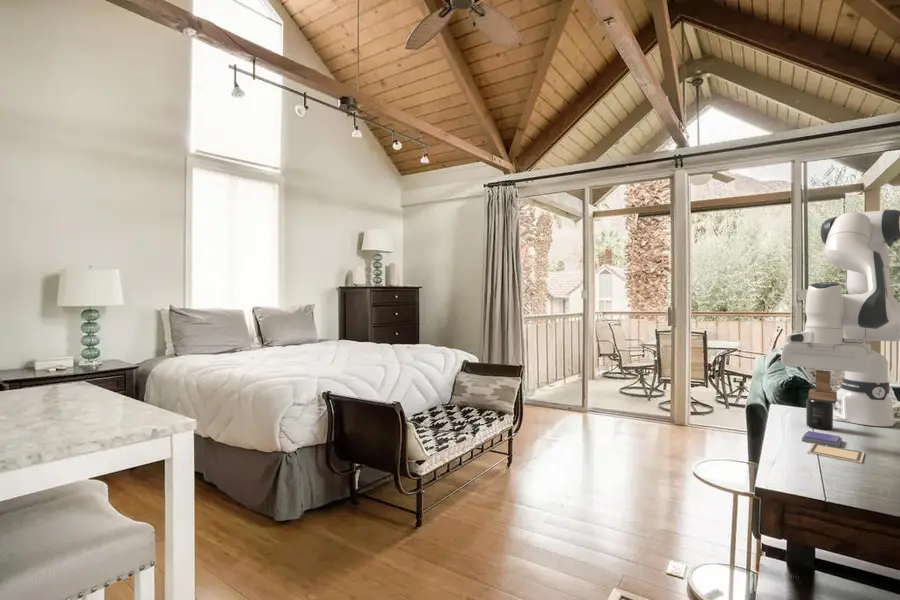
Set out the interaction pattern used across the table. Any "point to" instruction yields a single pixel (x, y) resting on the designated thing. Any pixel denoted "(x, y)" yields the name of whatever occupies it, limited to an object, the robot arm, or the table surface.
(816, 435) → the ink pad
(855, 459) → the marked card
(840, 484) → the table surface
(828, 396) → the stamp
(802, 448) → the table surface
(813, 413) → the supplement bottle
